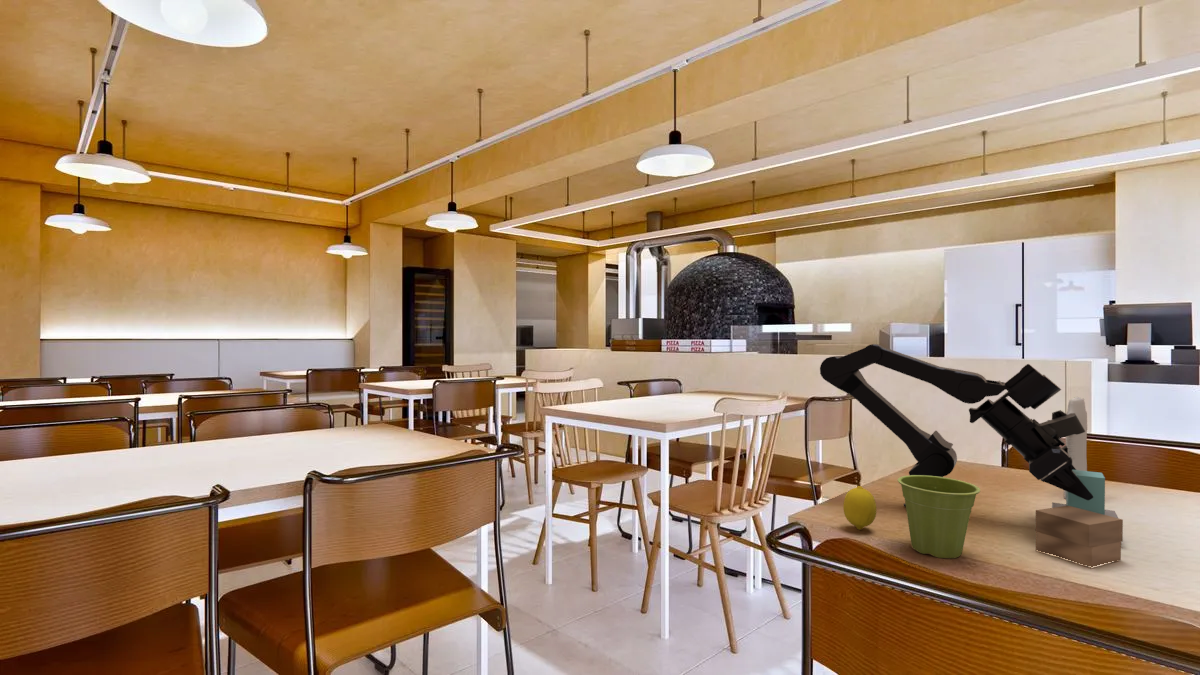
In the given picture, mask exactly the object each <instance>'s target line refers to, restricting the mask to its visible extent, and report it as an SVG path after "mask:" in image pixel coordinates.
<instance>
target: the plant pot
mask: <svg viewBox="0 0 1200 675" xmlns="http://www.w3.org/2000/svg"><path fill="white" fill-rule="evenodd" d="M897 482H898V484H900V486H901V489H902V490H901V491H902V496H903V498H904V502H905V504H906V507H905V510H906V518H907V523H908V530H909V536H910V544H911V547H912V549H913V550H914V551H917V552H919V553H920V554H924V555H926V554H929V555H931V556H933V557H935V558H938V559H956V558H959V557H960V556H961V555H962V554H963V550H964V549H963V548H964V544H965V540H966V536H967V530H968V527H969V526H968V525H969V521H970V518H971V513H972V509H973V507H974V505H975V502H976V498H977V497H976V496H977V495H978V494H979V493H980V492H981V488H979V486H977V485H975V484H973V483H970V482H967V481H964V480H959V479H955V478H951V477H946V476H943V477H938V476H927V475H925V476H924V475H909V474H908V475H903V476H900V477H898V478H897Z"/></svg>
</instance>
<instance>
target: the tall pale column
mask: <svg viewBox="0 0 1200 675" xmlns="http://www.w3.org/2000/svg"><path fill="white" fill-rule="evenodd" d="M1070 413H1075V414H1076V416H1077V418H1078V419H1079V421H1080V423H1081V425H1082V426H1083V428H1084V430H1085V432H1084V433H1081V434H1078V435H1076V434H1073V435H1070V436H1066V437H1065V446H1067V448H1068V455H1069V456H1070V457H1071V458H1072V465H1073V466H1074V467H1075V468H1076V470H1081V471H1088V464H1087V462H1088V461H1087V444H1088V443H1087V435H1088V433H1087V432H1088V411H1087V410H1086V402H1085V399H1084V398H1081V397H1079V396H1075V397H1073V398H1071V399H1069V400H1068V405H1067V410H1066V414H1067V415H1068V414H1070ZM1063 495H1064V499H1065V500H1066V491H1065V490H1063Z"/></svg>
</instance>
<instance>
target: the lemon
mask: <svg viewBox="0 0 1200 675" xmlns="http://www.w3.org/2000/svg"><path fill="white" fill-rule="evenodd" d="M842 507H843V514H844V517H845V518H846V520H847V521H848V522H849V524H851V525H853V526H854V527H856V529H857V530H863V529H864V528H865V527H868V526H870V525H872V523H873V522H874V521H875V519H876V517H877V516H876V515H877V504H876V500H875V498H874V496H873V494H872V493H871V492H870V491H869V490H868V489H866V488H864V487H863V486H861V485H858V486H857V487H854V488H852V489H850V490H848V492H847V493H846V495H845V497H844V500H843V506H842Z"/></svg>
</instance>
